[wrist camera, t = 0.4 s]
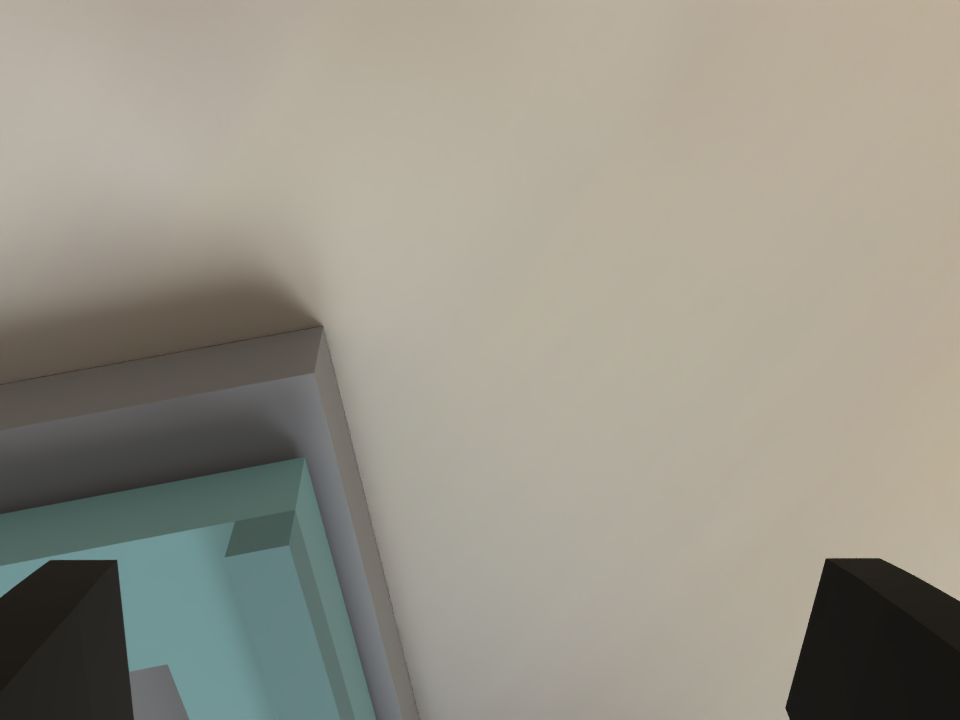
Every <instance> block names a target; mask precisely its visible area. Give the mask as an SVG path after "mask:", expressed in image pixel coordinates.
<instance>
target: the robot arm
mask: <svg viewBox="0 0 960 720" xmlns="http://www.w3.org/2000/svg"><path fill="white" fill-rule="evenodd" d="M786 711H787V713H788V716H789V718H790V720H960V601H958V600H956V599H955V598H953V597H951V596H949V595H948V594H946V593H944V592H942V591H941V590H939V589H937V588H935V587H934V586H932V585H930V584H928V583H927V582H925V581H923V580H921V579H919V578H917V577H916V576H914V575H912V574H910V573H908V572H906V571H904V570H902V569H900V568H898V567H896V566H894V565H892V564H890V563H888V562H886V561H884V560H882V559H880V558H829V559H826V560H825V564H824V567H823V571H822V575H821V579H820V582H819V586H818V590H817V593H816V597H815V601H814V604H813V608H812V612H811V615H810V619H809V623H808V627H807V630H806V634H805V638H804V641H803V645H802V649H801V652H800V656H799V660H798V663H797V667H796V671H795V674H794V678H793V682H792V686H791V689H790V693H789V697H788V700H787V704H786ZM0 720H134V715H133V705H132V696H131V686H130V677H129V667H128V658H127V648H126V639H125V629H124V620H123V610H122V601H121V591H120V582H119V572H118V563H117V560H49V561H48V562H47V563H45V564H44V565H42V566H41V567H40V568H38V569H37V570H36V571H34V572H33V573H31V574H30V575H29V576H28V577H26V578H25V579H24V580H22V581H21V582H20V583H18V584H17V585H16V586H15V587H13V588H12V589H11V590H9V591H8V592H7V593H6V594H4V595H3V596H2V597H0Z"/></svg>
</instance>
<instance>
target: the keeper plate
mask: <svg viewBox="0 0 960 720" xmlns="http://www.w3.org/2000/svg"><path fill="white" fill-rule="evenodd" d="M49 560H117V563H118V572H119V582H120V591H121V601H122V610H123V620H124V629H125V639H126V648H127V658H128V667H129V672H131V671H136V670H141V669H146V668H151V667H156V666H161V665H166V664H168V667H169V669H170V672H171V674H172V677H173V679H174V682H175V684H176V687H177V689H178V692H179V695H180V697H181V700H182V702H183V705H184V707H185V710H186V712H187V715H188V717H189V720H376V716H375V713H374V709H373V705H372V702H371V698H370V694H369V691H368V687H367V683H366V680H365V676H364V672H363V669H362V665H361V661H360V658H359V654H358V650H357V647H356V643H355V639H354V636H353V632H352V628H351V625H350V621H349V617H348V614H347V610H346V606H345V603H344V599H343V595H342V592H341V588H340V584H339V581H338V577H337V573H336V570H335V566H334V562H333V559H332V555H331V551H330V548H329V544H328V540H327V537H326V533H325V529H324V526H323V522H322V518H321V515H320V511H319V507H318V504H317V500H316V496H315V493H314V489H313V485H312V481H311V478H310V474H309V470H308V467H307V463H306V459H305V457H302V458H297V459H291V460H286V461H281V462H275V463H270V464H265V465H259V466H254V467H249V468H243V469H238V470H233V471H228V472H222V473H217V474H212V475H206V476H201V477H196V478H190V479H185V480H180V481H174V482H169V483H164V484H158V485H153V486H148V487H142V488H137V489H132V490H126V491H121V492H116V493H111V494H105V495H100V496H95V497H89V498H84V499H79V500H73V501H68V502H63V503H57V504H52V505H47V506H41V507H36V508H31V509H25V510H20V511H15V512H10V513H4V514H0V597H2V596H3V595H4V594H6V593H7V592H8V591H9V590H11V589H12V588H13V587H15V586H16V585H17V584H18V583H20V582H21V581H22V580H24V579H25V578H26V577H28V576H29V575H30V574H31V573H33V572H34V571H36V570H37V569H38V568H40V567H41V566H42V565H44V564H45V563H47V562H48V561H49Z"/></svg>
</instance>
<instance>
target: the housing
mask: <svg viewBox="0 0 960 720" xmlns="http://www.w3.org/2000/svg"><path fill="white" fill-rule="evenodd" d="M302 457H305V459H306V463H307V467H308V470H309V474H310V478H311V481H312V485H313V489H314V493H315V496H316V500H317V504H318V507H319V511H320V515H321V518H322V522H323V526H324V529H325V533H326V537H327V540H328V544H329V548H330V551H331V555H332V559H333V562H334V566H335V570H336V573H337V577H338V581H339V584H340V588H341V592H342V595H343V599H344V603H345V606H346V610H347V614H348V617H349V621H350V625H351V628H352V632H353V636H354V639H355V643H356V647H357V650H358V654H359V658H360V661H361V665H362V669H363V672H364V676H365V680H366V683H367V687H368V691H369V694H370V698H371V702H372V705H373V709H374V713H375V716H376V720H420V719H419V715H418V711H417V707H416V703H415V699H414V695H413V690H412V686H411V682H410V678H409V674H408V670H407V666H406V662H405V658H404V654H403V650H402V646H401V641H400V637H399V633H398V629H397V625H396V621H395V617H394V613H393V609H392V605H391V601H390V596H389V592H388V588H387V584H386V580H385V576H384V572H383V568H382V564H381V560H380V556H379V552H378V547H377V543H376V539H375V535H374V531H373V527H372V523H371V519H370V515H369V511H368V507H367V502H366V498H365V494H364V490H363V486H362V482H361V478H360V474H359V470H358V466H357V462H356V458H355V453H354V449H353V445H352V441H351V437H350V433H349V429H348V425H347V421H346V417H345V413H344V409H343V404H342V400H341V396H340V392H339V388H338V384H337V380H336V376H335V372H334V368H333V364H332V359H331V355H330V351H329V347H328V343H327V339H326V335H325V331H324V327H323V326H321V327H316V328H310V329H305V330H299V331H294V332H288V333H283V334H277V335H272V336H266V337H261V338H255V339H250V340H244V341H239V342H233V343H228V344H222V345H217V346H211V347H206V348H200V349H195V350H189V351H184V352H178V353H173V354H167V355H161V356H156V357H150V358H145V359H139V360H134V361H128V362H123V363H117V364H112V365H106V366H101V367H95V368H90V369H84V370H79V371H73V372H68V373H62V374H57V375H51V376H46V377H40V378H35V379H29V380H24V381H18V382H13V383H7V384H2V385H0V514H4V513H10V512H15V511H20V510H25V509H31V508H36V507H41V506H47V505H52V504H57V503H63V502H68V501H73V500H79V499H84V498H89V497H95V496H100V495H105V494H111V493H116V492H121V491H126V490H132V489H137V488H142V487H148V486H153V485H158V484H164V483H169V482H174V481H180V480H185V479H190V478H196V477H201V476H206V475H212V474H217V473H222V472H228V471H233V470H238V469H243V468H249V467H254V466H259V465H265V464H270V463H275V462H281V461H286V460H291V459H297V458H302ZM129 677H130V686H131V696H132V705H133V715H134V720H189V717H188V715H187V712H186V710H185V707H184V705H183V702H182V700H181V697H180V695H179V692H178V689H177V687H176V684H175V682H174V679H173V677H172V674H171V672H170V669H169V667H168V664H166V665H161V666H156V667H151V668H146V669H141V670H136V671H131V672H129Z"/></svg>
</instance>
